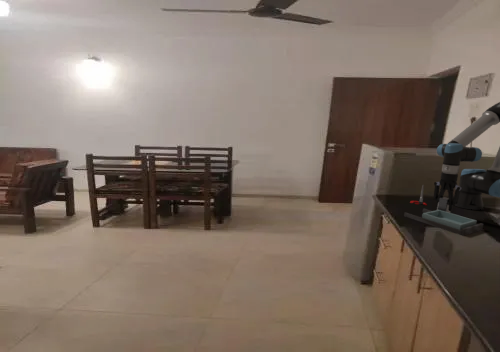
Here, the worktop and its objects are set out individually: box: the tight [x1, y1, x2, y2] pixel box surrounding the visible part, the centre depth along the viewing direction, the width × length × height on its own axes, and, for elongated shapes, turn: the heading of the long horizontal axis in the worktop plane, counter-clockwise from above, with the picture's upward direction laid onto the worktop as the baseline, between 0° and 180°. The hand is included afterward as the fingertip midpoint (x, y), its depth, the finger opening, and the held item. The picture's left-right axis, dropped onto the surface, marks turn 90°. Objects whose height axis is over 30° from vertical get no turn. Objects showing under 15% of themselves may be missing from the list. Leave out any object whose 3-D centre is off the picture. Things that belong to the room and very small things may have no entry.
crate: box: [421, 209, 478, 230], centre depth 152 cm, size 14×18×4 cm
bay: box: [403, 208, 484, 237], centre depth 155 cm, size 17×29×4 cm, turn 29°
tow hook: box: [409, 184, 428, 206], centre depth 190 cm, size 8×13×9 cm
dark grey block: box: [438, 196, 449, 212], centre depth 168 cm, size 4×4×10 cm
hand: (442, 214), depth 169 cm, fingers closed on dark grey block, 4 cm apart
